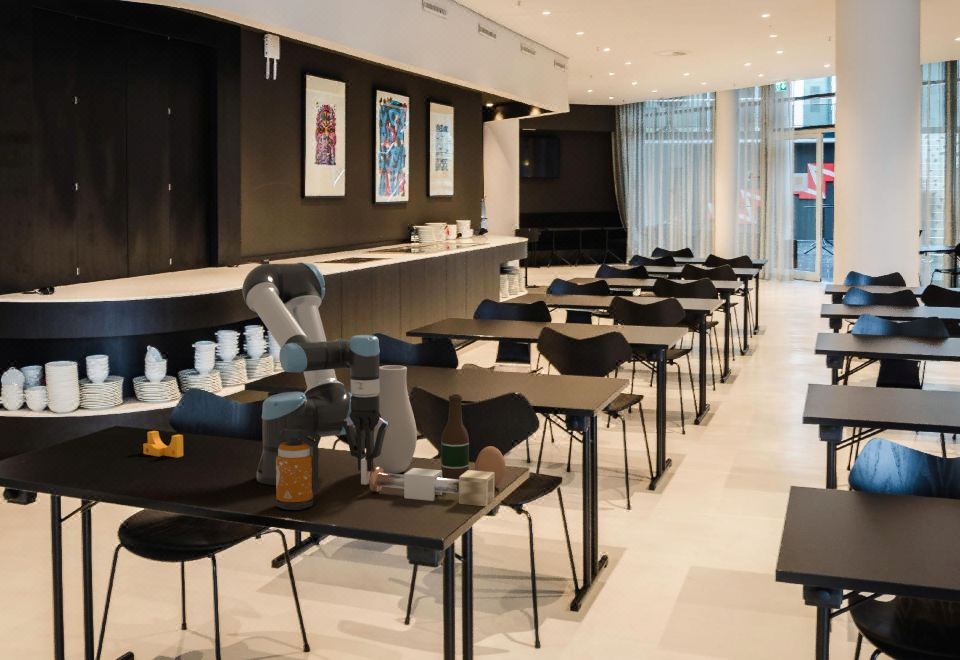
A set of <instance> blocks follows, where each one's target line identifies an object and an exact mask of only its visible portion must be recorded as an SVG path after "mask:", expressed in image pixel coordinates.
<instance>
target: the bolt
mask: <svg viewBox="0 0 960 660" xmlns="http://www.w3.org/2000/svg"><path fill="white" fill-rule="evenodd" d="M368 485H369V486H368V488H369V489H370V491H372V492H377V493H378V492H380V491H381V490H382V488H383V487H384V488H392V489H393V488H394V489H403V490H404V473H403V474H401V473H396V474H392V473H384V471H383V469H382V467H376V466H373V468H372V470H371V472H370V476H369V483H368ZM435 492H442V493H446V494H450V493H451V494H456V495H458V494H459V480H458V479H447V478H435Z"/></svg>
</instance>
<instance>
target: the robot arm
mask: <svg viewBox="0 0 960 660" xmlns="http://www.w3.org/2000/svg"><path fill="white" fill-rule="evenodd" d="M325 286H326V283H325V278H324V275H323V273H322V271H321V270H320V268H319V267H318V266H317V265H315V264H313V263H310V262H309V263H306V262H305V263H304V262H302V261H301V262H297V263H264V264H260V265H257V266H256V267H254V268H253V269H251V270H250V271H249V272H248V274H247V275H246V276H245V279H244V280H243V283H242V289H241V290H242V292H241V293H242V297H243V301H244V302H245V304H246V306H247V307H248V308H249V309H250V310H251V311H252V312H255V313H257V315H258V316H259V318H260V319H261V322H263V324H264V325H265V327H266V328H267V330H268V331H269V333H270V335H272V337H273V339H274V340H275V342H276V343H277V345H278V346H279V348H280V349H279V355H278V358H279V362H280V366H281V368H282V370H283V371H285V372H286V373H302V372H303V376H304V379H305V383H306V387H307V388H306V390H305V391H304V392H302V391H286V392H281V393H277V394H273V395H270V396H269V397H266V398H265V400H264V401H263V403H262V413H261V419H262V423H261V424H262V426H261V427H262V454H261V457H260V460H259V463H258V466H257V470H256V481H257V482H258V483H261V484H264V485H269V486H276V457H277V456H278V447H279V445H280V444H281V443H284V442H287V441H288V440H284V435H283V436H282V437H279V436H278V433H279V432H280V431H283V430H284V428H288V429H303V428H304V427H306V428H308V429H310V430H311V431H313V432H314V433H316V434H318V435H319V436H321V438H325V437H334V436H335V437H339V436H342V435H346V439H347V444H348V447H349V452H350V456H352V457H355V458H357V470H358V471H359V472H360V477H361V478H360V484H361V485H369V476H370V472H371V470H372V468H373V467H374V461H373V459H374V458H376V457H378V456H380V454H381V449H382V445H383V440H384V436H385V431H386V429H387V427H388V426H389V422H388V421H386V422H385V421H384V420H383V419H382V418H381V415H380V412H379V409H380V397H379V395H377V394H378V393H379V392H380V389H379V367H380V352H381V351H380V350H381V349H380V342H379V337H377V336H375V335H370V334H359V335H353V336H351V337H350V339H349V338H337V339H335V340H328V341H327V337H326V333H325V330H324V326H323V325H324V324H323V321H322V319H321V315H320V310H319V308H320V306H321V304H322V301H323V299H324V297H325V294H326V288H325ZM338 369H349V370H350V373H349V374H350V376H349V377H350V378H349V379H350V391H346V387H345V384H344V383H343V382H341V381H339V380H338V378H337V376H336V371H335V370H338ZM378 423H379V425H378V427H379V430H378V433H377V437H376V442H375V446H374V431H375V426H376V425H377V424H378ZM354 428H355V429H354ZM355 433H356V436H355ZM307 437H308V438H310V439H312V438H311V437H309V436H308V435H307Z"/></svg>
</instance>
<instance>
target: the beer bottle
mask: <svg viewBox="0 0 960 660" xmlns="http://www.w3.org/2000/svg"><path fill="white" fill-rule="evenodd" d="M448 400H449V404H448V405H449V407H448V419H447V424H446V426H445V427H444V428H443V431H442V433H441V437H440V438H441V440H440V441H441V445H440V447H441V448H440V450H441V452H440V463H441V464H440V470H442V478H447V479H458V480H459V477H460V476H461V475H462V474H463V473H465V472H466V471H467V470H470V468H469V467H470V439H469V433H468V430H467V428H466V427H465V426H464V424H463V418H462V417H463V414H462V413H463V412H462V411H463V410H462V400H463V398H462V395H461V394H457V393H454V394H452V393H451V394H449V396H448Z"/></svg>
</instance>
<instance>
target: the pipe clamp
mask: <svg viewBox="0 0 960 660" xmlns="http://www.w3.org/2000/svg"><path fill="white" fill-rule="evenodd" d="M146 435H147V442H146V443H143V444H142V446H143V447H142V448H143V455H148V456H149V455H150V456H153V457H161V456H162V457H163V456H166V457H170V458H181V457H183V456H184V435H183V434H174V435H171V440H170V442H169V445H166V444H165V443H164V442H163V441H162V439H161V437H160V433H159V431H157V430H152V431H148V432H147V434H146Z"/></svg>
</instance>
